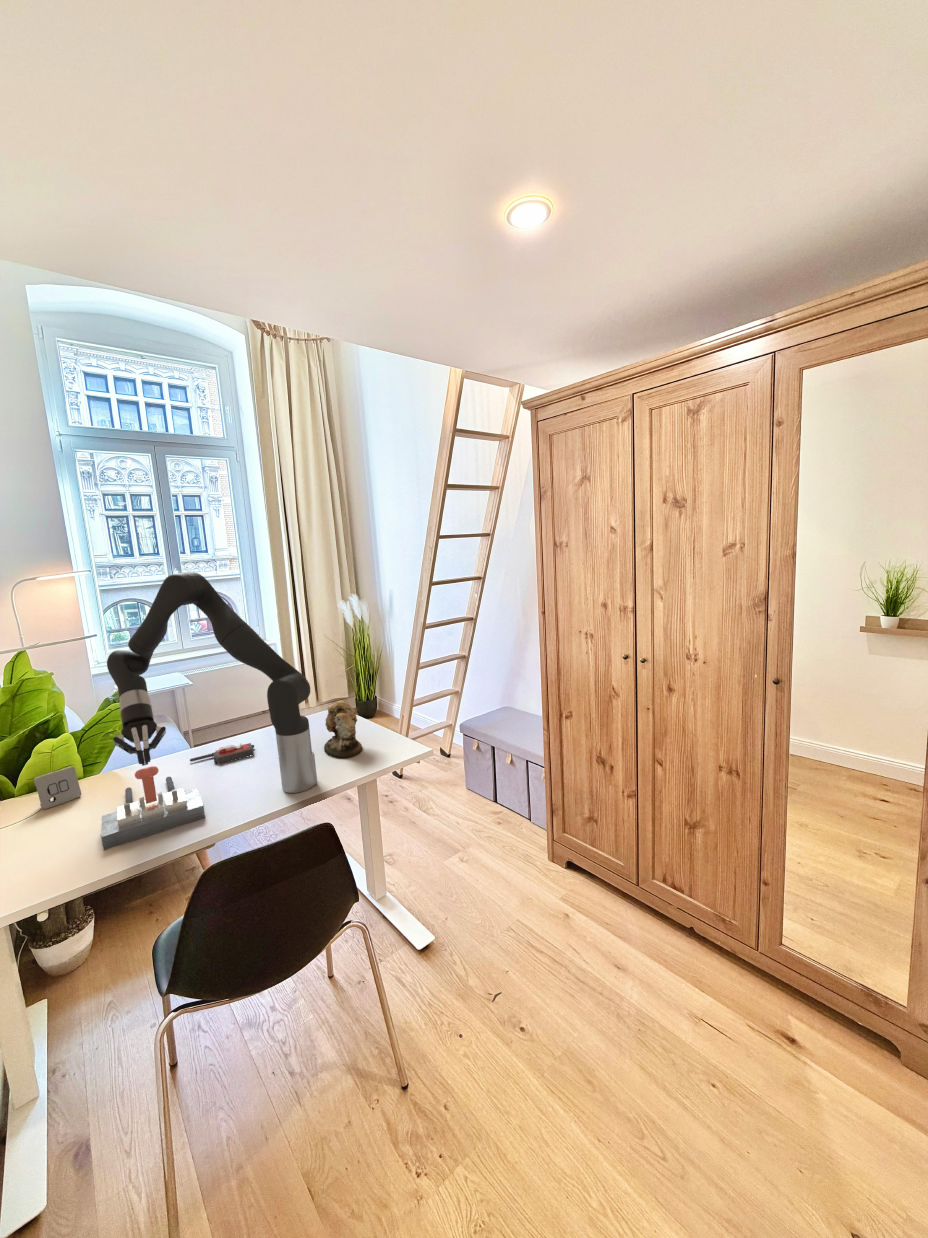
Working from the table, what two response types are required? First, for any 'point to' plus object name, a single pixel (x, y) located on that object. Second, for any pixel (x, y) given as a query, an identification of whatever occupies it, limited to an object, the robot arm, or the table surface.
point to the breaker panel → (151, 817)
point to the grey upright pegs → (129, 791)
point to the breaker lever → (148, 782)
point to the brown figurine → (342, 731)
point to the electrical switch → (57, 787)
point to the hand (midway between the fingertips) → (145, 764)
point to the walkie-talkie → (229, 753)
